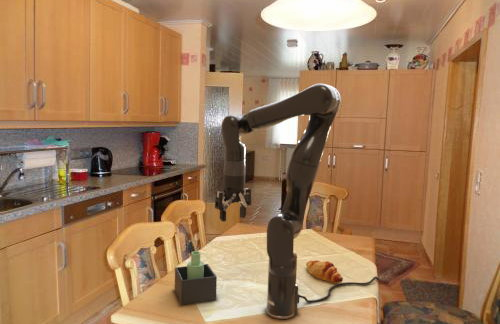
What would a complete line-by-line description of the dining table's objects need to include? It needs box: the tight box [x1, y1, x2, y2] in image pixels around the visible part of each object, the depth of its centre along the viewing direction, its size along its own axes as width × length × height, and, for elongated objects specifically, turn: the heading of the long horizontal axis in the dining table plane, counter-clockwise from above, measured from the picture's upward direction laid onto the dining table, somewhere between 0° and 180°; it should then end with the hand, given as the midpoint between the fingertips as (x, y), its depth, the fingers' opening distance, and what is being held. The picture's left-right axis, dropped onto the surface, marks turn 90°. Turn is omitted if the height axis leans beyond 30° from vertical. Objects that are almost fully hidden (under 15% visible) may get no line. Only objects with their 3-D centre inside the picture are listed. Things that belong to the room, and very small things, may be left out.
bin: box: [174, 263, 218, 306], centre depth 138 cm, size 12×12×9 cm
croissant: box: [305, 259, 344, 284], centre depth 159 cm, size 21×10×8 cm, turn 32°
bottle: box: [186, 250, 205, 280], centre depth 138 cm, size 6×6×15 cm
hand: (233, 219), depth 136 cm, fingers open, 8 cm apart
